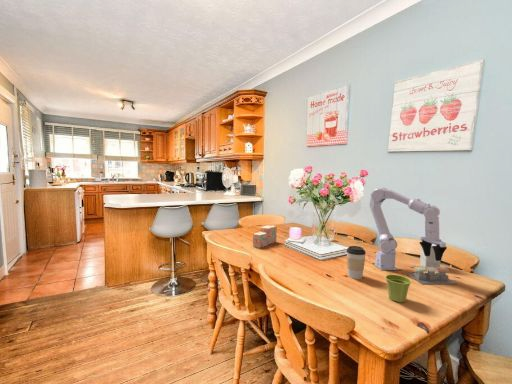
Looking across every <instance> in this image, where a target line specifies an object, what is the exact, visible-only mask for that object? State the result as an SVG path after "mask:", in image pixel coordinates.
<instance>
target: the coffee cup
mask: <svg viewBox="0 0 512 384" xmlns="http://www.w3.org/2000/svg"><path fill="white" fill-rule="evenodd" d="M366 254H367V252H366V250H365V249H364V248H363V247H361V246H358V245H351V246H350V245H349V246H348V248H347V249H346V264H347V265H346V267H347V277H348V278H349V279H353V280H362V279H363V275H364V268H365V262H366Z"/></svg>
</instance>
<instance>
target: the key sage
mask: <svg viewBox="0 0 512 384" xmlns="http://www.w3.org/2000/svg"><path fill="white" fill-rule="evenodd" d="M413 269H414V270H415V271H416V273H417V274H418V275H423V274H424V273H428V270H427V269H425V267H424V266H413Z"/></svg>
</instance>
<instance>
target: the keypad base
mask: <svg viewBox="0 0 512 384" xmlns="http://www.w3.org/2000/svg"><path fill="white" fill-rule="evenodd" d="M405 274H406V275H407V276H408V277H410V278H412V279H413V280H415V281H417V282H418V283H419V284H421V285H458V283H457V282H455V281H454V280H452V279H451V278H449V275H448V274H446V275H440V274H439V272H435V275H429V274H428V272H424V274H423V275H418V274H417V272H414V273H412V272H411V273H410V272H409V273H408V272H407V273H405Z"/></svg>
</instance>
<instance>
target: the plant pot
mask: <svg viewBox="0 0 512 384" xmlns="http://www.w3.org/2000/svg"><path fill="white" fill-rule="evenodd" d="M385 280H386V283H387V291H388V299H390V300H391V301H394V302H397V303H404V302H406V300H407V296H408V291H409V287H410V284H412V280H411V279H410V278H408V277H406V276H404V275H399V274H386V275H385Z"/></svg>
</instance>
